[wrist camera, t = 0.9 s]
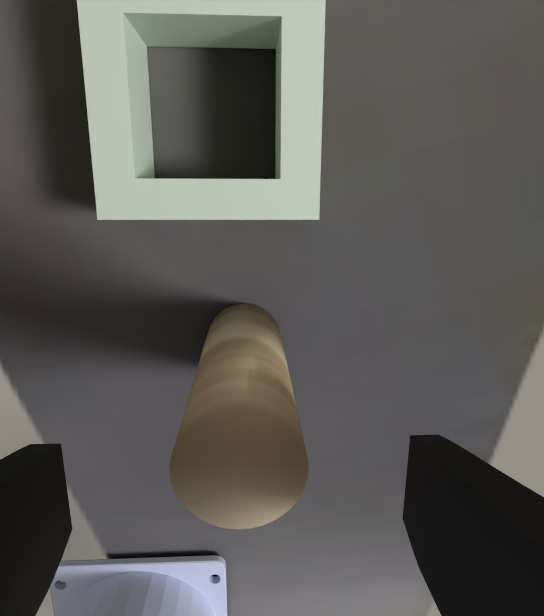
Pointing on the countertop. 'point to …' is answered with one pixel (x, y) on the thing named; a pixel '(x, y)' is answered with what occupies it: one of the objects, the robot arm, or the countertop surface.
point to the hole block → (137, 113)
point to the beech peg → (240, 426)
